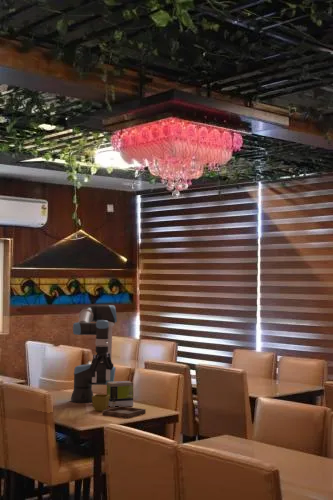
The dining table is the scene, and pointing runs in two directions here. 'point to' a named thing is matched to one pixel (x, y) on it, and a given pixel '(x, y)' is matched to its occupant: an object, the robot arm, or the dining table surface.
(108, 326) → the robot arm
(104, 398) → the flower pot
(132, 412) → the walnut tray
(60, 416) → the dining table surface
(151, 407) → the dining table surface
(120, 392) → the tea box
